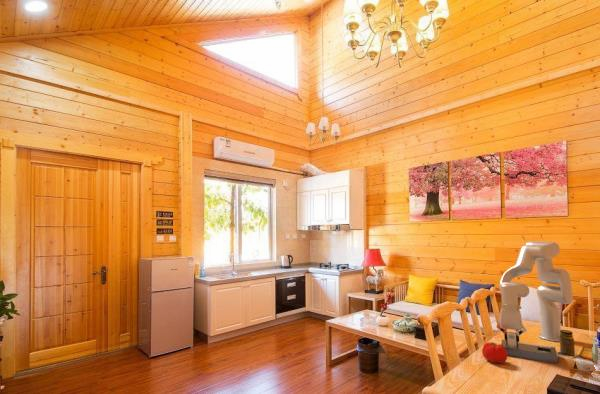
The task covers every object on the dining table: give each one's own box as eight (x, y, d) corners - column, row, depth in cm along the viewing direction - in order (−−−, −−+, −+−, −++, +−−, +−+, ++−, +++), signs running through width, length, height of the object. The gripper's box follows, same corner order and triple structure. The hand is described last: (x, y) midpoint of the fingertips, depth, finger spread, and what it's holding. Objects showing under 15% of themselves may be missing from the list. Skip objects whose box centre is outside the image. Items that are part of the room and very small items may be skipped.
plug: (508, 348, 185) (507, 331, 186) (516, 349, 183) (515, 332, 184) (507, 351, 181) (506, 333, 182) (516, 352, 179) (515, 334, 180)
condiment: (578, 355, 178) (576, 331, 180) (572, 358, 174) (570, 334, 175) (561, 350, 184) (560, 328, 186) (555, 354, 180) (553, 330, 181)
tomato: (510, 367, 163) (509, 348, 163) (484, 364, 166) (483, 345, 167) (505, 359, 173) (504, 341, 173) (481, 356, 176) (480, 339, 177)
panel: (502, 346, 191) (502, 338, 191) (555, 355, 178) (555, 346, 178) (501, 354, 179) (500, 345, 180) (557, 364, 166) (557, 355, 166)
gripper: (528, 307, 183) (530, 343, 181) (492, 304, 192) (494, 337, 190) (528, 310, 177) (530, 347, 175) (491, 306, 186) (493, 341, 184)
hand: (512, 341), depth 183 cm, fingers closed on plug, 4 cm apart
